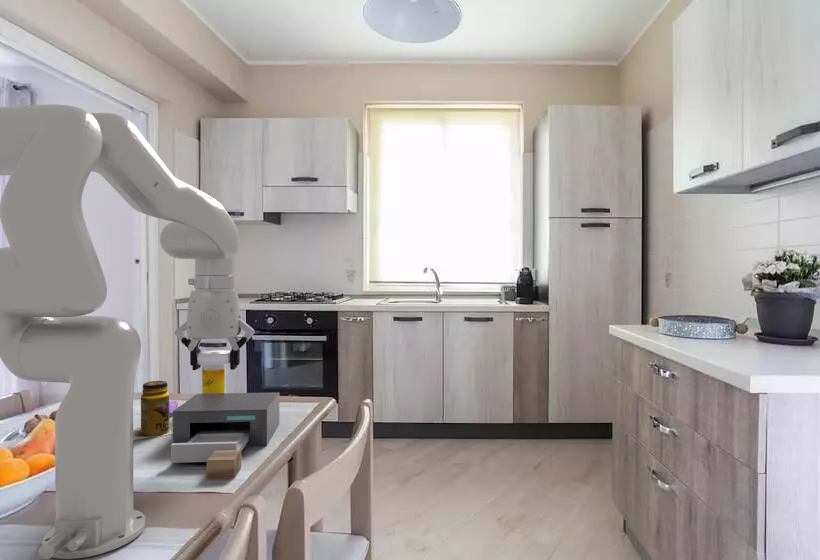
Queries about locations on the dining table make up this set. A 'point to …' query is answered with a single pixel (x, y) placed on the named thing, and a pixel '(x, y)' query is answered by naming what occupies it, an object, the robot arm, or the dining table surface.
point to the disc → (213, 357)
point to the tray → (208, 445)
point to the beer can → (213, 379)
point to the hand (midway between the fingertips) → (215, 368)
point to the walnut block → (224, 464)
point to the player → (228, 415)
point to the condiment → (154, 411)
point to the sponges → (172, 407)
